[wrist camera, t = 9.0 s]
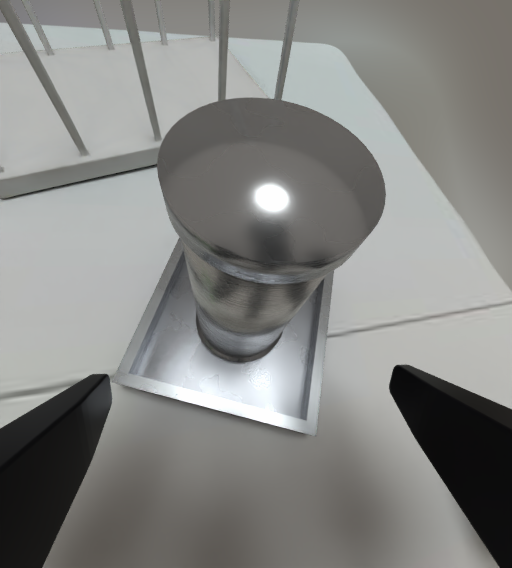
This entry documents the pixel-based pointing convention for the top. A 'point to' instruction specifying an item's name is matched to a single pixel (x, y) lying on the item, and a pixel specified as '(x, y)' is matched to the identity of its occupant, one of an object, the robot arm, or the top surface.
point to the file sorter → (109, 97)
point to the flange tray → (223, 375)
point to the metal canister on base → (263, 213)
